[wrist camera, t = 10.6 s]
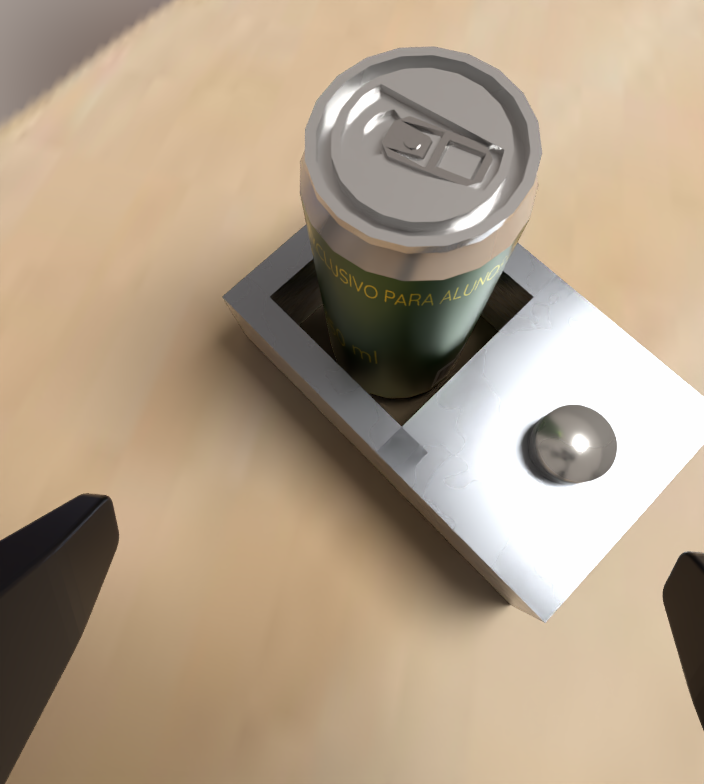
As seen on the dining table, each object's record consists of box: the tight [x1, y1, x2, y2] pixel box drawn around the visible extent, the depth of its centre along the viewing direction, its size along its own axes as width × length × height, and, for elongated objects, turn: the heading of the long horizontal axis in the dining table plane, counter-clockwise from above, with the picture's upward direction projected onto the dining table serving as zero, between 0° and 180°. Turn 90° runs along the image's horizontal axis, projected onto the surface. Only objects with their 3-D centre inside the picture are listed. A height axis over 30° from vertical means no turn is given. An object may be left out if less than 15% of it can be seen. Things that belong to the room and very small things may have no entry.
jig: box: [223, 225, 704, 623], centre depth 20 cm, size 15×9×5 cm, turn 44°
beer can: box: [300, 47, 542, 398], centre depth 17 cm, size 5×5×12 cm
